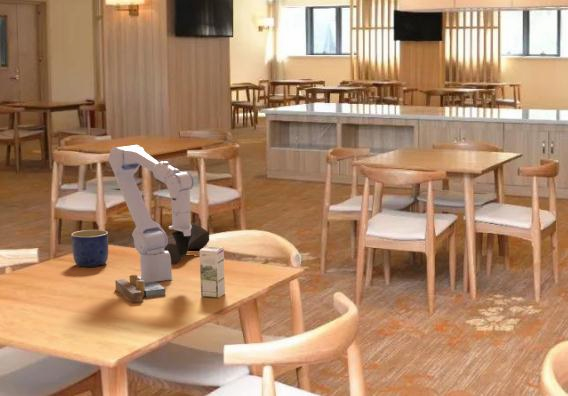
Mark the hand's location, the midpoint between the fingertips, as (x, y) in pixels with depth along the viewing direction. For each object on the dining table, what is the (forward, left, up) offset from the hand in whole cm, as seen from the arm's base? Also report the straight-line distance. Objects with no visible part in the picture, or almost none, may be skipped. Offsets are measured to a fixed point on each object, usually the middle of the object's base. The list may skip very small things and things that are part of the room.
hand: (182, 254), depth 311 cm
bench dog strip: (+17, +3, -10) cm, 20 cm away
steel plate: (+12, +3, -10) cm, 16 cm away
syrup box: (-4, +15, -10) cm, 19 cm away
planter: (+18, -44, -10) cm, 49 cm away
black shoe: (-15, -41, -10) cm, 45 cm away
